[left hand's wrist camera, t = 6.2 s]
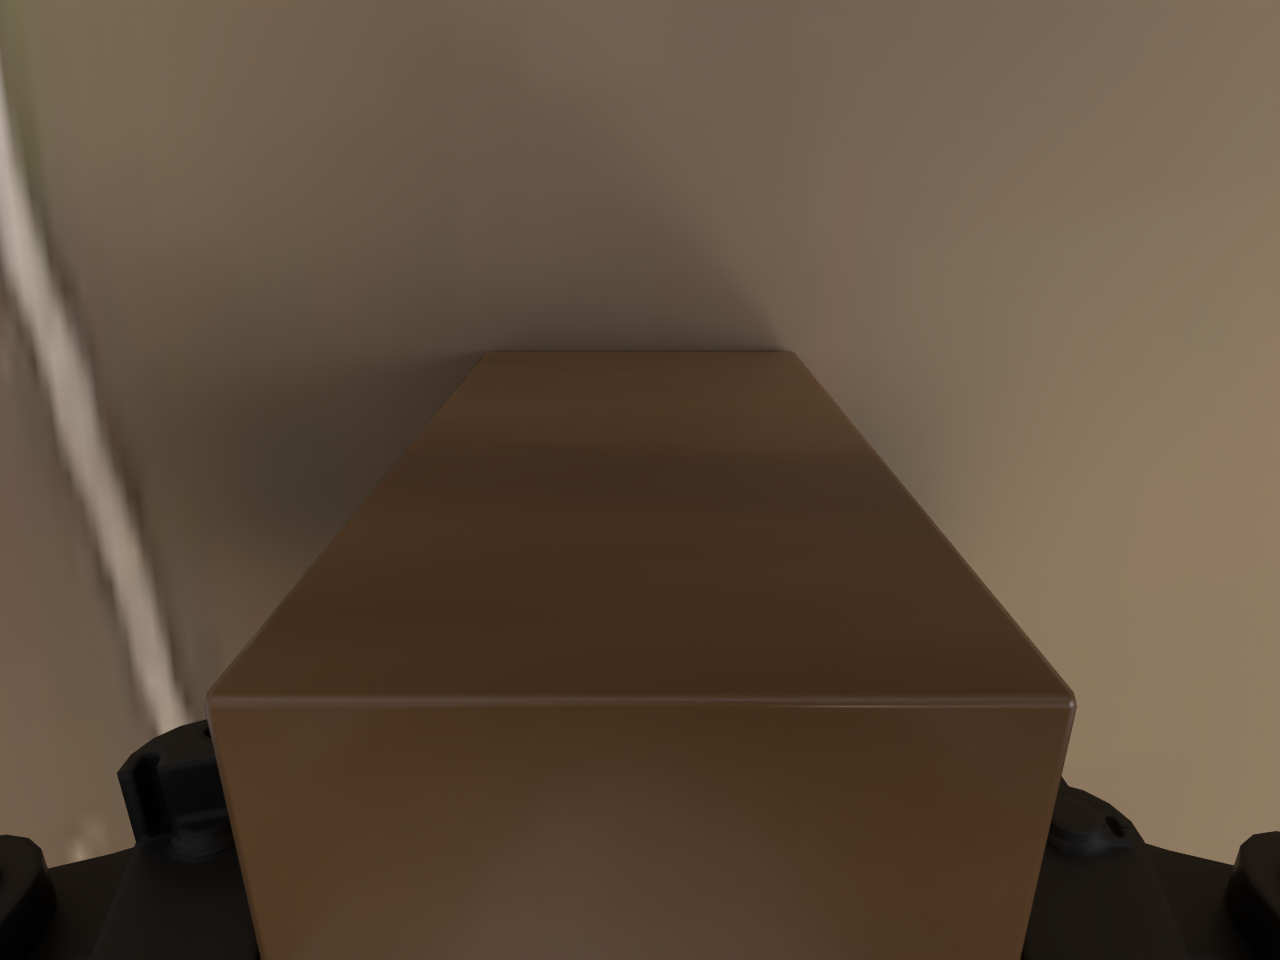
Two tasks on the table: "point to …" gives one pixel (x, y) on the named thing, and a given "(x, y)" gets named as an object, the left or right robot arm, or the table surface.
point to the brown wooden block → (640, 692)
